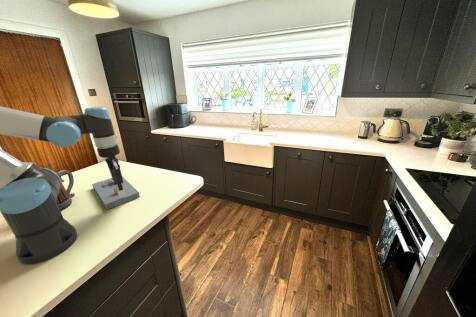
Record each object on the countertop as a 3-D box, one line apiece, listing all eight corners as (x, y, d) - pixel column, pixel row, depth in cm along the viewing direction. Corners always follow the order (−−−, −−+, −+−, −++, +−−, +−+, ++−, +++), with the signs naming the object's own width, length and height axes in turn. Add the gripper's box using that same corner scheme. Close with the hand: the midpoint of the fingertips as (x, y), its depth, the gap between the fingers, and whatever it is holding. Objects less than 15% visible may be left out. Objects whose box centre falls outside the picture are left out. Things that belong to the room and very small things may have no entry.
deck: (140, 196, 95) (138, 192, 94) (106, 209, 86) (105, 204, 85) (122, 178, 114) (121, 175, 113) (93, 188, 105) (91, 184, 104)
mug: (55, 215, 83) (40, 184, 78) (35, 213, 85) (20, 182, 80) (87, 195, 98) (77, 168, 92) (70, 194, 100) (59, 167, 94)
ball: (115, 195, 92) (113, 189, 91) (113, 192, 94) (111, 187, 93) (123, 192, 94) (121, 186, 93) (121, 190, 96) (119, 184, 95)
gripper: (122, 146, 79) (135, 197, 87) (113, 140, 87) (126, 187, 96) (100, 151, 74) (117, 204, 83) (93, 145, 83) (109, 193, 91)
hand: (122, 195), depth 89 cm, fingers closed
